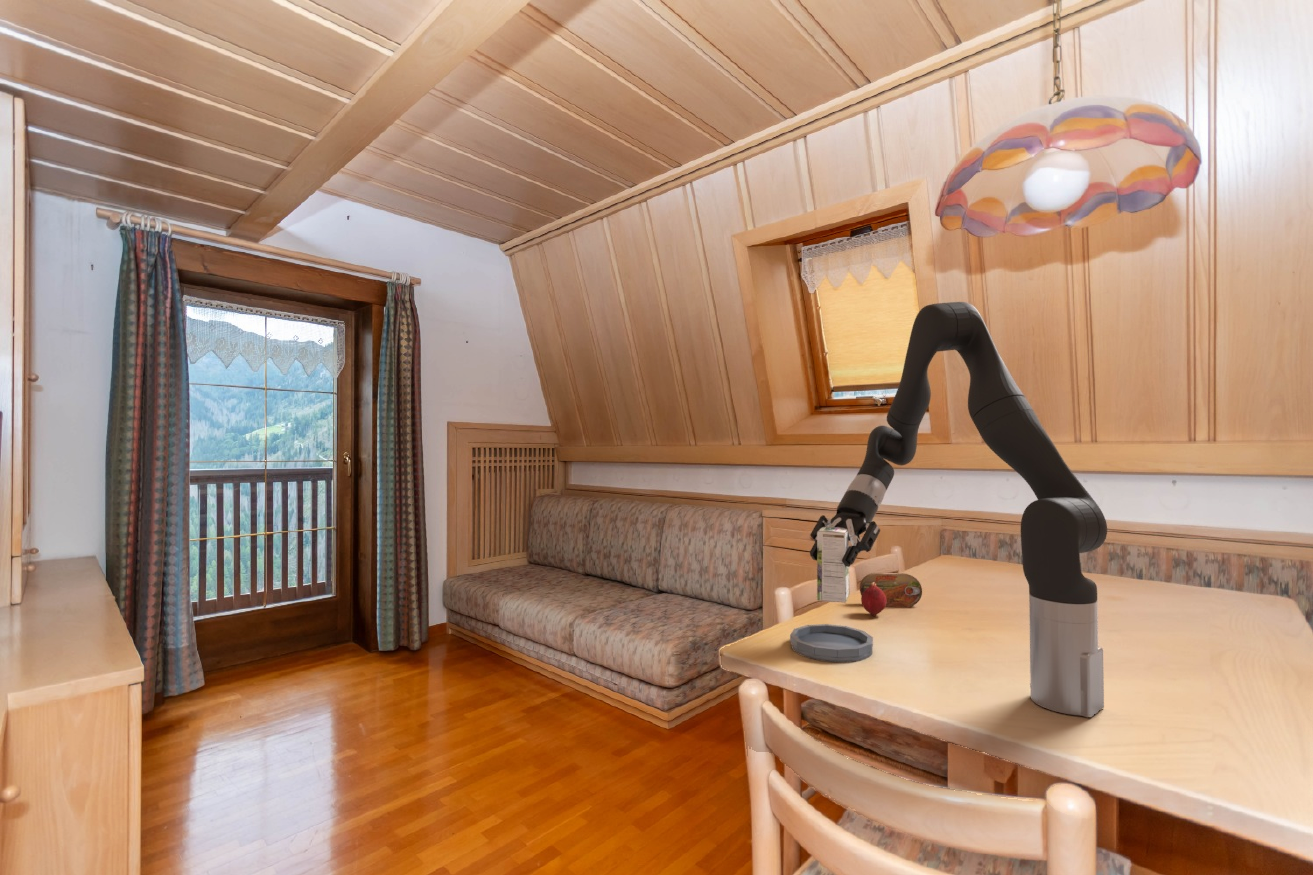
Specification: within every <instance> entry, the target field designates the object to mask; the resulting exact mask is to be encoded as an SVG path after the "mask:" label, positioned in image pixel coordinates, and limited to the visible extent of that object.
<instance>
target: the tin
mask: <svg viewBox="0 0 1313 875" xmlns="http://www.w3.org/2000/svg"><path fill="white" fill-rule="evenodd" d="M873 582H874V583H876V586H877V587H878V588H880V589H881V590H882V591H883V592H884V594H885V596H886V599H887V603H886V606H885V608H910V607H913V606H915V605H917V604H918V603H919V601H920V600H921V598H922V595H923V588H922V584H921V582H920V581H919V580H918V579H917V578H916V577H915V576H913V575H911V574H908V573H905V572H903V573H902V572H901V573H900V572H899V573H898V572H897V573H895V572H894V573H892V572H888V573H887V572H871V573H869V574H866V575H865V576H864V577H863V578H862V579H861V581H860V583H859V593H860V596H862V594H863V592H864V591H865V590H866V589H867V588H868V587H870V586H871V583H873Z"/></svg>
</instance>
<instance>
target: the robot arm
mask: <svg viewBox="0 0 1313 875" xmlns="http://www.w3.org/2000/svg"><path fill="white" fill-rule="evenodd" d="M948 351H955V352H957V353H958V354H959V355H960V357H961V358H962V360H963V362H964V364H965V366H966V367H967V369H968V372H969V389H968V395H967V410H968V413H969V414H968V415H969V416H970V418H971V420H972V423H973V424H974V426H975V428H976V429H977V431H978V433H979V435H980V438H982V440H983V441H984V443H985V444H986V446H987V447H988V448H989V449H990V450H991V451H992V452H993V453H994V454H995V455H996V456H997V457H999V458H1000V459H1001V461H1003V462H1004V463H1005V464H1007V465H1008V466H1009V467H1010V468H1012V469H1013V470H1014V471H1015V472H1016V473H1018V475H1020V477H1021V478H1022V479H1023V480H1024V481H1025V482H1026V484H1027V485H1029V488H1030V489H1031V490H1032V492H1033V493H1034V495H1035V498H1036V500H1034V501H1032V502H1030V503H1029V504H1028V505H1026V508H1025V509H1024V511H1023V513H1022V515H1021V521H1020V545H1021V546H1020V547H1021V560H1022V571H1023V574H1024V577H1025V579H1026V581H1027V584H1028V599H1029V600H1028V602H1029V604H1028V605H1029V606H1028V607H1029V610H1028V611H1029V613H1028V614H1029V616H1028V617H1029V673H1030V680H1029V681H1030V682H1029V685H1030V688H1029V689H1030V698H1031V701H1032V702H1034V703H1035V704H1037V705H1039V706H1040V707H1042V708H1045V709H1047V710H1050V711H1052V712H1057V713H1059V714H1060V713H1061V714H1066V715H1070V716H1081V717H1085V718H1088V717H1091V718H1092V717H1093V716H1095V715H1096V714H1097V713H1099V712H1100V711H1102V709H1104V708H1105V692H1104V691H1105V688H1104V686H1105V685H1104V684H1105V683H1104V682H1105V681H1104V678H1105V677H1104V676H1105V675H1104V648H1103V647H1102V646H1099V636H1098V635H1099V630H1098V629H1099V626H1098V625H1099V624H1098V623H1099V621H1098V619H1099V616H1098V615H1099V614H1098V610H1099V609H1098V587H1097V584H1096V582H1095V581H1094V580H1092V579H1091V578H1088V577H1085V575H1084V574H1083V573H1082V567H1081V556H1080V554H1083V553H1089V552H1092V551H1096V550H1098V549H1099V548H1101V546H1103V545H1104V543H1105V542H1106V540H1107V535H1108V525H1107V524H1108V523H1107V520H1106V518H1105V515H1104V513H1103V511H1102V510H1101V508H1100V506H1099V505H1098V504H1097V502H1096V501H1095V500H1094V499H1093V498H1094V497H1092V496H1091V494H1090V493H1089V492H1088V490H1086V488H1085V487H1084V485H1083V484H1082V483H1081V482H1080V481H1079V479H1078V477H1076V475H1075V474H1074V473H1073V471H1072V470H1071V469H1070V468H1069V466H1068V464H1067V463H1066V462H1065V460H1064V459H1063V457H1062V455H1061V454H1060V452H1059V450H1058V449H1057V446H1055V443H1054V442H1053V440H1052V439H1051V437H1050V436H1049V435H1048V433H1047V431H1046V430H1045V428H1044V427H1043V425H1042V423H1041V422H1040V419H1039V418H1038V416H1037V414H1036V412H1035V411H1034V409H1033V407H1032V406H1031V404H1030V403H1029V401H1028V399H1027V398H1026V396H1025V394H1024V393H1023V391H1022V390H1021V389H1020V387H1019V385H1018V384H1017V383H1016V381H1015V379H1014V377H1013V376H1012V375H1011V372H1010V370H1009V369H1008V367H1007V366H1006V364H1005V362H1004V360H1003V358H1002V357H1001V355H1000V352H999V351H998V349H997V346H996V345H995V343H994V341H993V338H992V336H991V334H990V331H989V329H988V327H987V325H986V323H985V320H984V319H983V317H982V315H981V314H980V312H979V310H978V309H977V308H976V307H975V306H974V305H973V304H971V303H969V302H965V301H952V302H951V301H950V302H942V303H941V302H939V303H931V304H928V305H924V306H923V307H922V308H921V309H920V310H919V311H918V313H917V314H916V316H915V319H914V321H913V325H912V328H911V332H910V336H909V341H908V345H907V349H906V354H905V358H904V364H903V369H902V375H901V378H900V382H899V385H898V387H897V390H896V393H895V394H894V396H893V397H894V398H893V399H892V402H891V404H890V407H889V409H888V411H887V415H886V422H887V424H888V425H889V426H887V425H878V426H875V427H874V428H873V429H872V430H871V432H870V433H869V435H868V440H867V444H866V451H865V456H864V460H863V462H862V464H861V466H860V468H859V470H858V471H857V473H856V476H855V477H854V479H853V480H852V481H851V483H850V484H849V486H848V487H847V489H846V490H845V492H844V494H843V496H842V498H841V500H840V501H839V503H838V504H837V507H836V513H835V515H834V516H833V517H832V518H828V517H826V516H825V515H820V517H819V518H818V520H817V522H816V524H815V525H814V527H813V529H812V531H811V532H810V534H809V536H810V537H811V539H812V540H813V542H814V543H813V545H812V547H811V549H810V550H809V555H810V557H811V559H812V560H813V561H816V562H817V532H818V531H819V530H820V529H821V528H822V527H839V528H845V529H848V539H849V542H850V544H851V545H849V547H848V549H847V551H846V553H845V555H844V557H843V559H842V562H843V563H844V565H845V566H847V567H849V568H850V567H851V565H853V564H854V562H855V561H856V559H857V557H858V555H859V554H861V553H862V552H864V551H865V552H866V553H867V552H870V551H871V550H872V548H873V546H874V544H875V542H876V540H877V538H878V536H879V534H880V532H881V529H880V527H879V525H878V524H877V523H876V521H874V518H875V515H876V514H877V512H878V510H879V508H880V506H881V504H882V502H883V500H884V497H885V494H886V492H887V490H888V488H889V487H890V485H891V482H892V480H893V479H894V476H895V469H894V467H893V465H892V464H894V465H897V466H906V465H908V464H910V463H911V462H912V460H914V457H915V455H916V452H917V445H918V432H919V429H920V425H921V422H922V421H923V418H924V416H925V414H926V412H927V410H928V408H929V405H930V401H931V397H932V396H931V395H932V392H931V385H930V381H929V377H928V370H929V366H930V363H931V362H932V360H933V358H934V356H935V355H936V354H937V353H938V352H939V353H940V352H948ZM889 462H890V463H892V464H890V463H889ZM862 534H863V536H862V538H861V535H862ZM1099 710H1100V711H1099ZM1098 711H1099V712H1098ZM1094 714H1095V715H1094Z"/></svg>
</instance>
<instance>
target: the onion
mask: <svg viewBox="0 0 1313 875" xmlns="http://www.w3.org/2000/svg"><path fill="white" fill-rule="evenodd" d="M860 596H861V595H860ZM860 601H861V605H862V607H863V609H864V610H865V611H866V612H868V613H869V614H870V615H871V616H875V617H876V616H877V615H878V614H880V613H881V612H883V610H884V609H885V608H886V607H885V606H886V603H887V599H886V596H885V594H884V592H883V591H882V590H881V589H880V588H878V587H877V586H876V583H874V582H873V583H871V586H870V587H868V588H867V589H866V590H865V591H864V592H863V594H862V596H861V598H860Z"/></svg>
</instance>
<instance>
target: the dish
mask: <svg viewBox="0 0 1313 875" xmlns="http://www.w3.org/2000/svg"><path fill="white" fill-rule="evenodd" d="M789 638H790V639H789V640H790V642H789V643H790V644H791V648H792V650H793V651H794V652H795V653H796V654H798V653H799V654H798V655H800V656H802V657H806V658H808V659H811V660H816V661H822V662H827V663H828V662H829V663H851V662H852V663H853V662H859V661H863V660H866V659H868V658H870V657H871V656H872V655H873V647H874V637H873V636H872V635H871V634H869V633H867V632H866V631H864V630H861V629H858V628H855V627H851V626H848V625H841V624H840V625H837V624H829V623H822V624H818V623H817V624H806V625H803V626H800V627H796V628H793V630H792V631H791V633H790V635H789Z"/></svg>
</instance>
